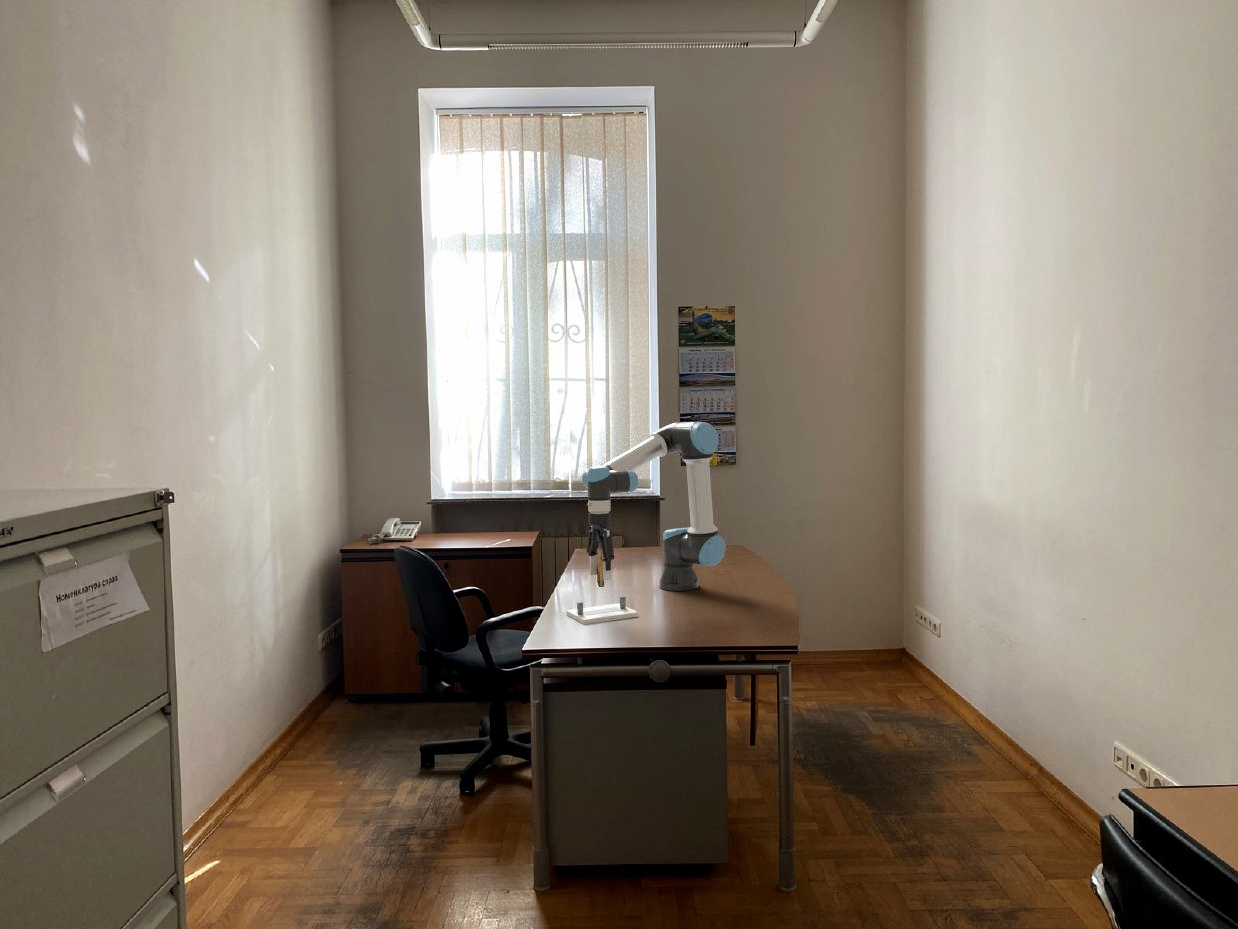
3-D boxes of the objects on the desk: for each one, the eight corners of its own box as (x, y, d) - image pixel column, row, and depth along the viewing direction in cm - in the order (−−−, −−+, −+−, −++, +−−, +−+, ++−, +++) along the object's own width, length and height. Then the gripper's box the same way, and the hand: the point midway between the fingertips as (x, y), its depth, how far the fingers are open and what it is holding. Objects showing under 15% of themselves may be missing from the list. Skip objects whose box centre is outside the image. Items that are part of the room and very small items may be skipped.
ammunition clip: (604, 587, 287) (603, 551, 286) (598, 587, 287) (598, 551, 286) (602, 580, 298) (601, 546, 297) (597, 580, 298) (596, 546, 297)
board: (618, 607, 304) (618, 592, 304) (638, 616, 291) (637, 600, 291) (566, 614, 296) (566, 599, 295) (583, 624, 282) (583, 607, 282)
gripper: (576, 509, 299) (577, 572, 301) (603, 516, 279) (604, 584, 280) (595, 508, 303) (596, 570, 304) (624, 515, 282) (625, 581, 284)
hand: (600, 577), depth 292 cm, fingers closed on ammunition clip, 10 cm apart
